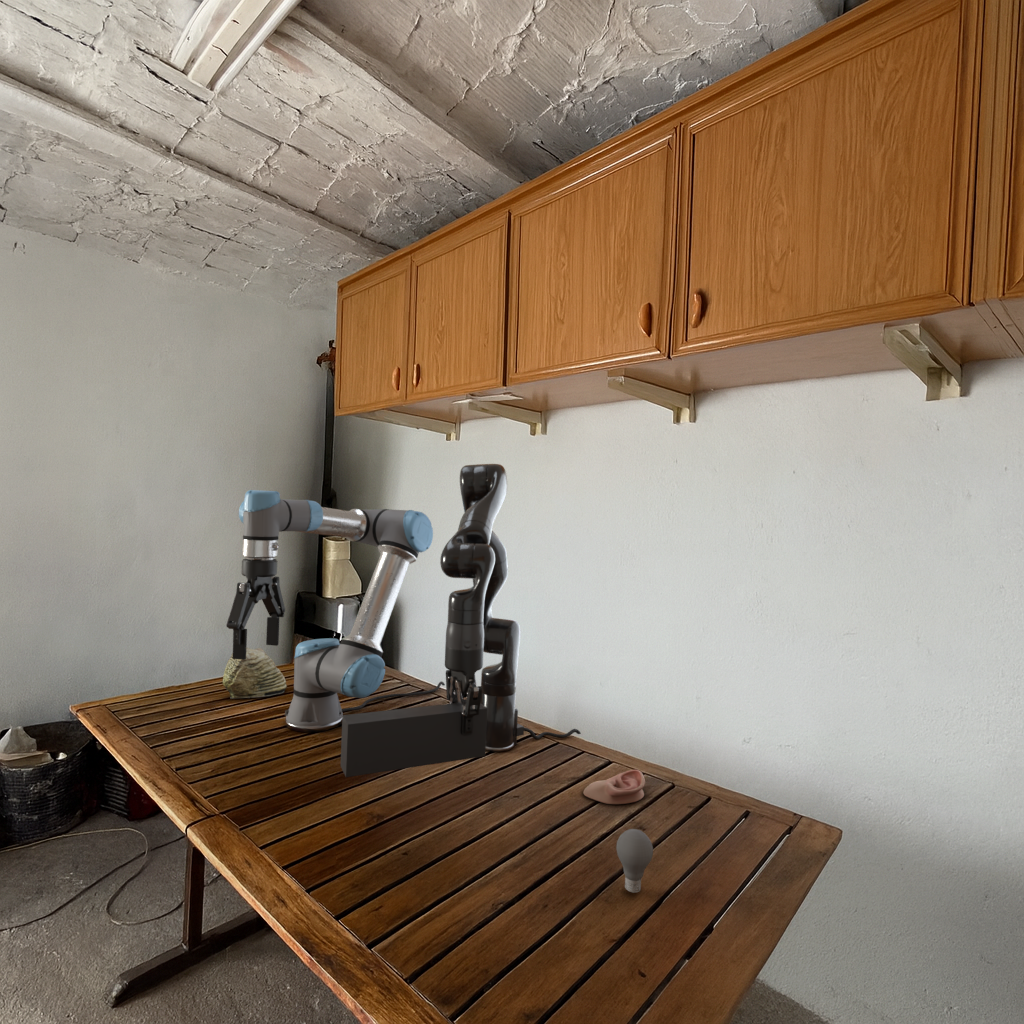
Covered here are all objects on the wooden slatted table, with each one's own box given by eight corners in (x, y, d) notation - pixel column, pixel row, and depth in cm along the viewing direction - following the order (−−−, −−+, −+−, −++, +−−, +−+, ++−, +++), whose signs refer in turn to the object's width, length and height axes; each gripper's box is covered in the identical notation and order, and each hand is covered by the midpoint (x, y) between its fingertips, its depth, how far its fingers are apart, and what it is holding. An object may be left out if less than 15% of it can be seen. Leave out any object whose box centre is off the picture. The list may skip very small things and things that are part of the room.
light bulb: (610, 879, 108) (613, 822, 108) (644, 879, 109) (647, 822, 109) (619, 902, 102) (622, 840, 102) (655, 901, 103) (658, 840, 103)
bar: (345, 777, 113) (347, 724, 112) (340, 766, 117) (342, 715, 117) (485, 756, 125) (487, 708, 124) (475, 746, 129) (477, 700, 129)
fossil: (218, 695, 195) (220, 647, 195) (278, 685, 208) (279, 640, 207) (228, 703, 189) (230, 653, 188) (289, 692, 201) (290, 645, 201)
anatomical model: (582, 782, 137) (587, 761, 148) (581, 800, 137) (586, 778, 148) (645, 790, 134) (645, 768, 145) (644, 809, 134) (644, 785, 145)
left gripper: (243, 564, 130) (240, 666, 131) (301, 554, 155) (298, 641, 155) (210, 562, 132) (206, 663, 132) (273, 553, 156) (270, 638, 157)
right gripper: (497, 651, 120) (493, 740, 120) (468, 635, 133) (465, 715, 133) (460, 654, 116) (456, 745, 117) (434, 637, 129) (431, 719, 130)
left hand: (256, 651), depth 144 cm, fingers open, 13 cm apart
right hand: (461, 729), depth 125 cm, fingers closed on bar, 5 cm apart
